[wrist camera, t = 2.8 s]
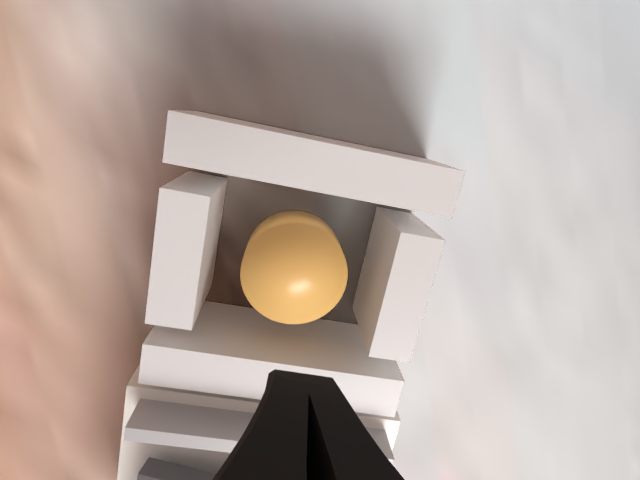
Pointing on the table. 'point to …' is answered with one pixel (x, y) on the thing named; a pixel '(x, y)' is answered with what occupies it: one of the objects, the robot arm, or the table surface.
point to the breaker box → (200, 427)
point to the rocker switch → (170, 471)
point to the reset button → (293, 268)
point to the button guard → (247, 323)
